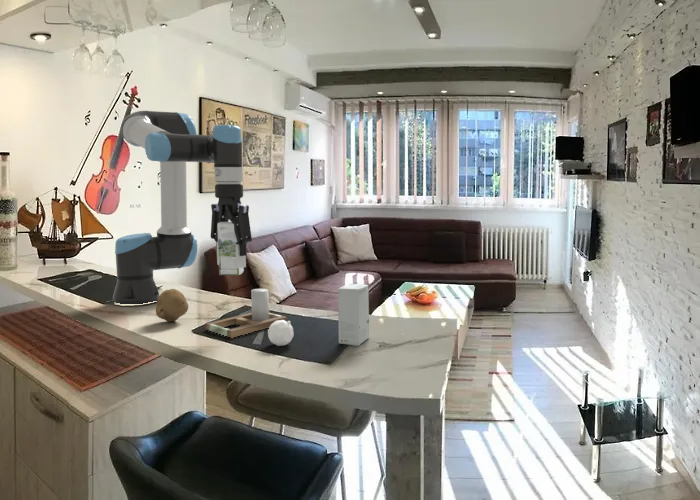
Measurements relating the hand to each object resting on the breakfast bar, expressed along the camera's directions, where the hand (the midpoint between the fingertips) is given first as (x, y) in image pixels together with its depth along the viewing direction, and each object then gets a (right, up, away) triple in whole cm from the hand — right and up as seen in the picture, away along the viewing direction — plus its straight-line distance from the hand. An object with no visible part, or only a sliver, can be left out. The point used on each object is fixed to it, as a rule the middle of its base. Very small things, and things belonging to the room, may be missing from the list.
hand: (231, 265), depth 153 cm
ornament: (+15, -20, -10) cm, 27 cm away
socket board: (+3, -18, +6) cm, 19 cm away
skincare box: (+34, -20, -7) cm, 40 cm away
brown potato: (-20, -17, +12) cm, 29 cm away
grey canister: (+6, -17, +10) cm, 21 cm away
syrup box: (0, -2, 0) cm, 2 cm away
